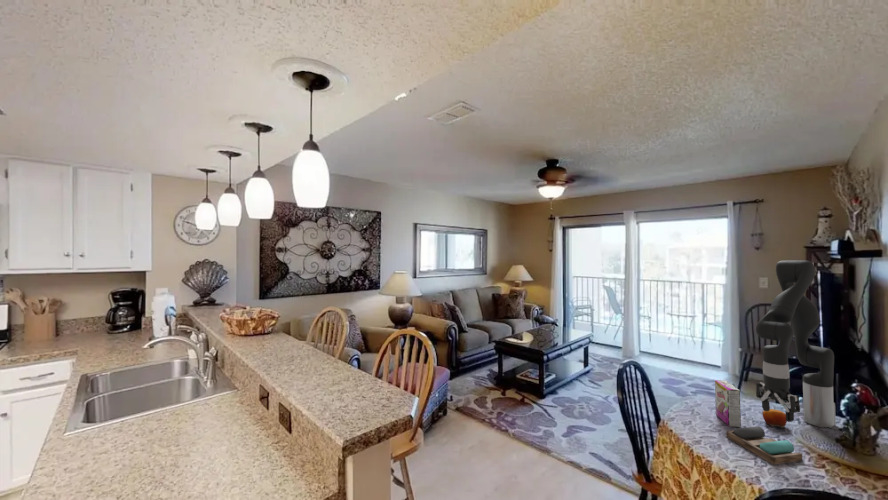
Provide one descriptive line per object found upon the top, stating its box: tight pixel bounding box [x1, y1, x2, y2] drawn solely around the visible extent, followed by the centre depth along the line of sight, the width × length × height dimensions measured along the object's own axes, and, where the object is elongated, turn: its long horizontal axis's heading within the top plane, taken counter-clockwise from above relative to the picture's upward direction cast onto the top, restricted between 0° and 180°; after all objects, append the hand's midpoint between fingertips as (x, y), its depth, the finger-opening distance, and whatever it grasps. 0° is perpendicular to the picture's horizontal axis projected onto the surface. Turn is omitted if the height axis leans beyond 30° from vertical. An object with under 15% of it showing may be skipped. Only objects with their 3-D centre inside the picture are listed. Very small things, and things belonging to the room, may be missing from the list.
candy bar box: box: [714, 379, 742, 428], centre depth 165 cm, size 11×5×16 cm, turn 168°
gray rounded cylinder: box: [732, 425, 766, 439], centre depth 149 cm, size 10×4×4 cm, turn 97°
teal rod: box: [760, 439, 795, 455], centre depth 138 cm, size 10×4×4 cm, turn 97°
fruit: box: [762, 408, 788, 430], centre depth 159 cm, size 8×8×8 cm
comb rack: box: [726, 429, 803, 465], centre depth 143 cm, size 12×19×2 cm, turn 7°
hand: (777, 415), depth 141 cm, fingers open, 8 cm apart
